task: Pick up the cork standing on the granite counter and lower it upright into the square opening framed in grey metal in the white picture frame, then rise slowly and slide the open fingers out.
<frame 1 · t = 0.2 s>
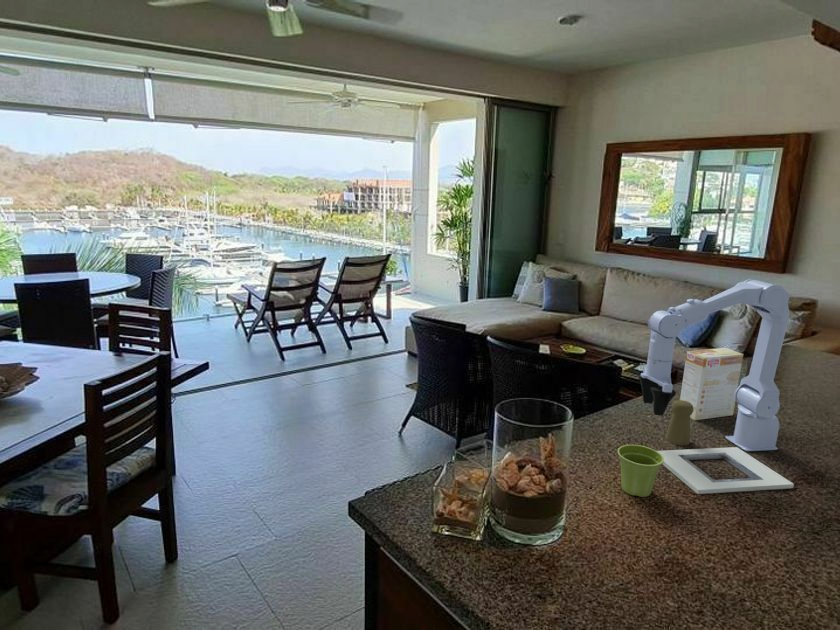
hand: (653, 408, 139), 10 cm above the kitchen counter, tool pointing down, fingers open, 7 cm apart
plant pot: (635, 490, 119), on the kitchen counter
coffeecake box: (705, 414, 163), on the kitchen counter
white picture frame: (718, 470, 129), on the kitchen counter
cork: (677, 440, 144), on the kitchen counter
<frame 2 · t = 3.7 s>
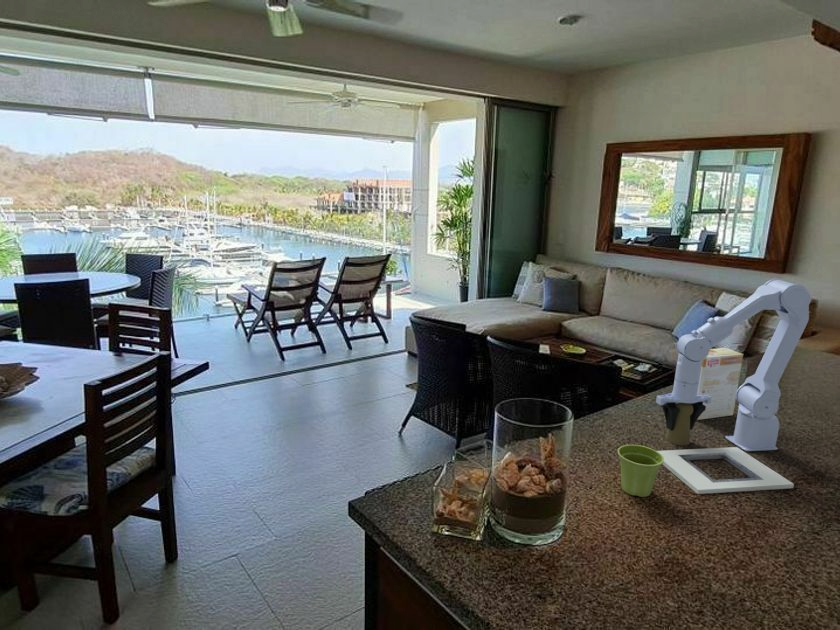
hand: (679, 428, 144), 3 cm above the kitchen counter, tool pointing down, fingers closed on cork, 5 cm apart
cork: (677, 440, 144), on the kitchen counter, touching gripper
everything else where it was.
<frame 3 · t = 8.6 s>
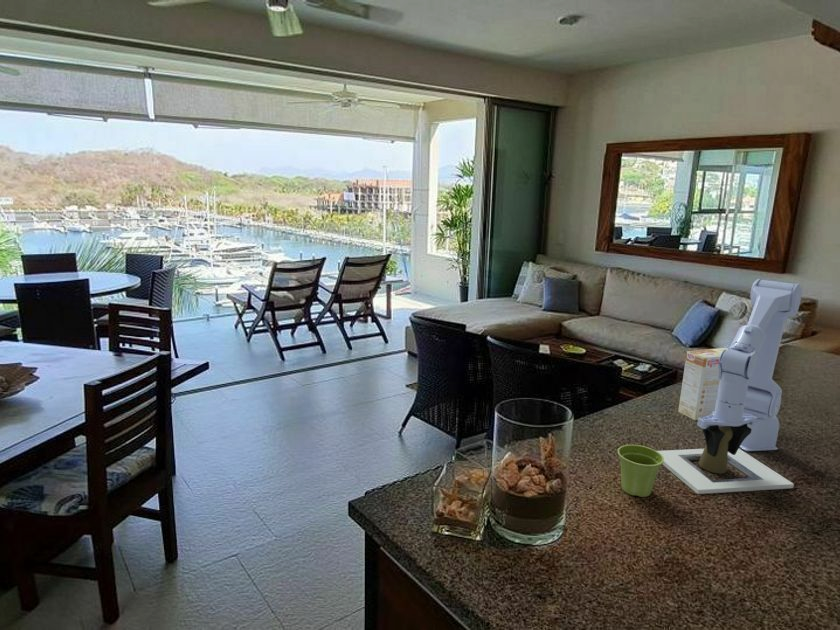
hand: (721, 453, 128), 4 cm above the kitchen counter, tool pointing down, fingers closed on cork, 5 cm apart
cork: (712, 467, 130), resting in white picture frame, touching gripper
everything else where it was.
when the fingers open (4 cm above the kitchen counter, at t = 9.0 s): cork stays where it is, resting in white picture frame.
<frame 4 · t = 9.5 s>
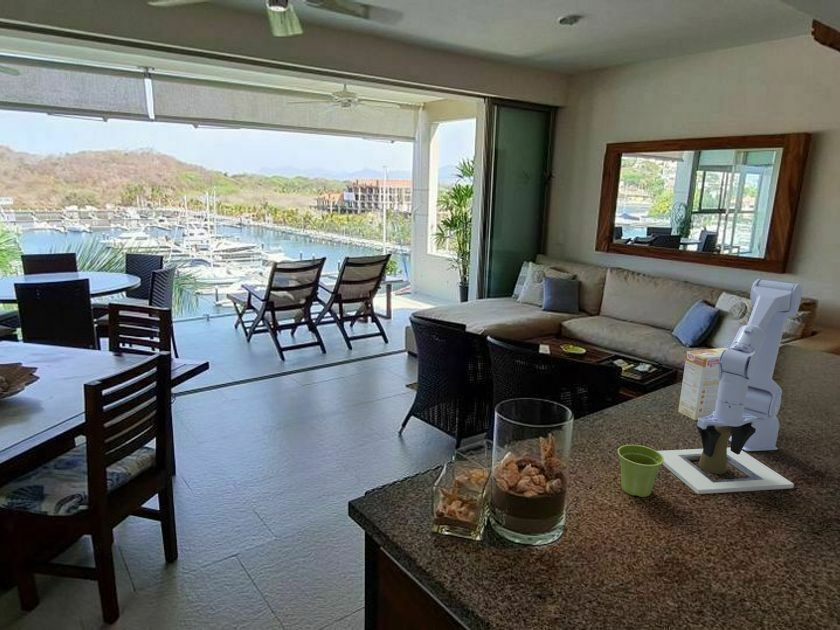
hand: (721, 453, 128), 4 cm above the kitchen counter, tool pointing down, fingers open, 7 cm apart
cork: (712, 468, 130), resting in white picture frame
everything else where it was.
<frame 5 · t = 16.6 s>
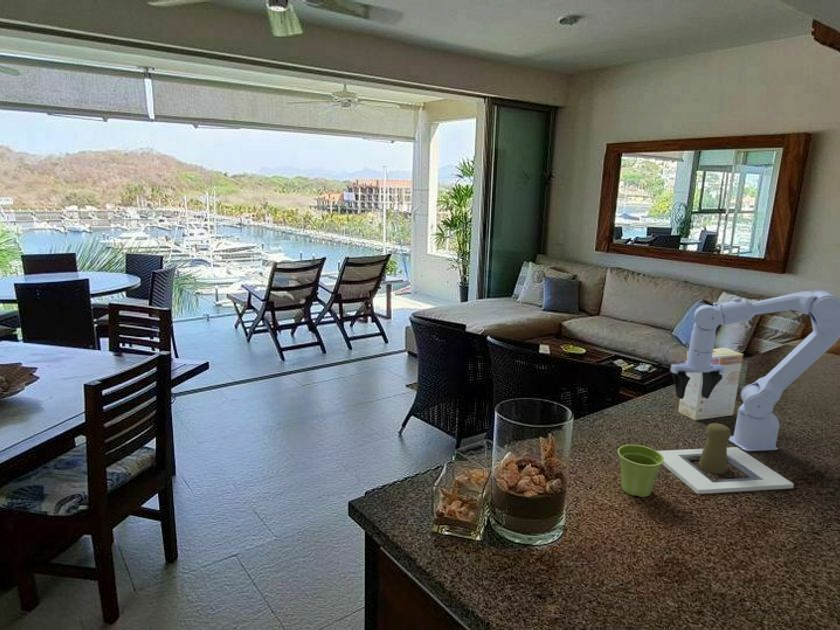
hand: (692, 397, 147), 10 cm above the kitchen counter, tool pointing down, fingers open, 7 cm apart
nothing on the kitchen counter moved.
at the end: cork 1.7 cm off-centre on the white picture frame, point 0.0 cm above the white picture frame's base; cork tilted 0°; the gripper is holding nothing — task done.
